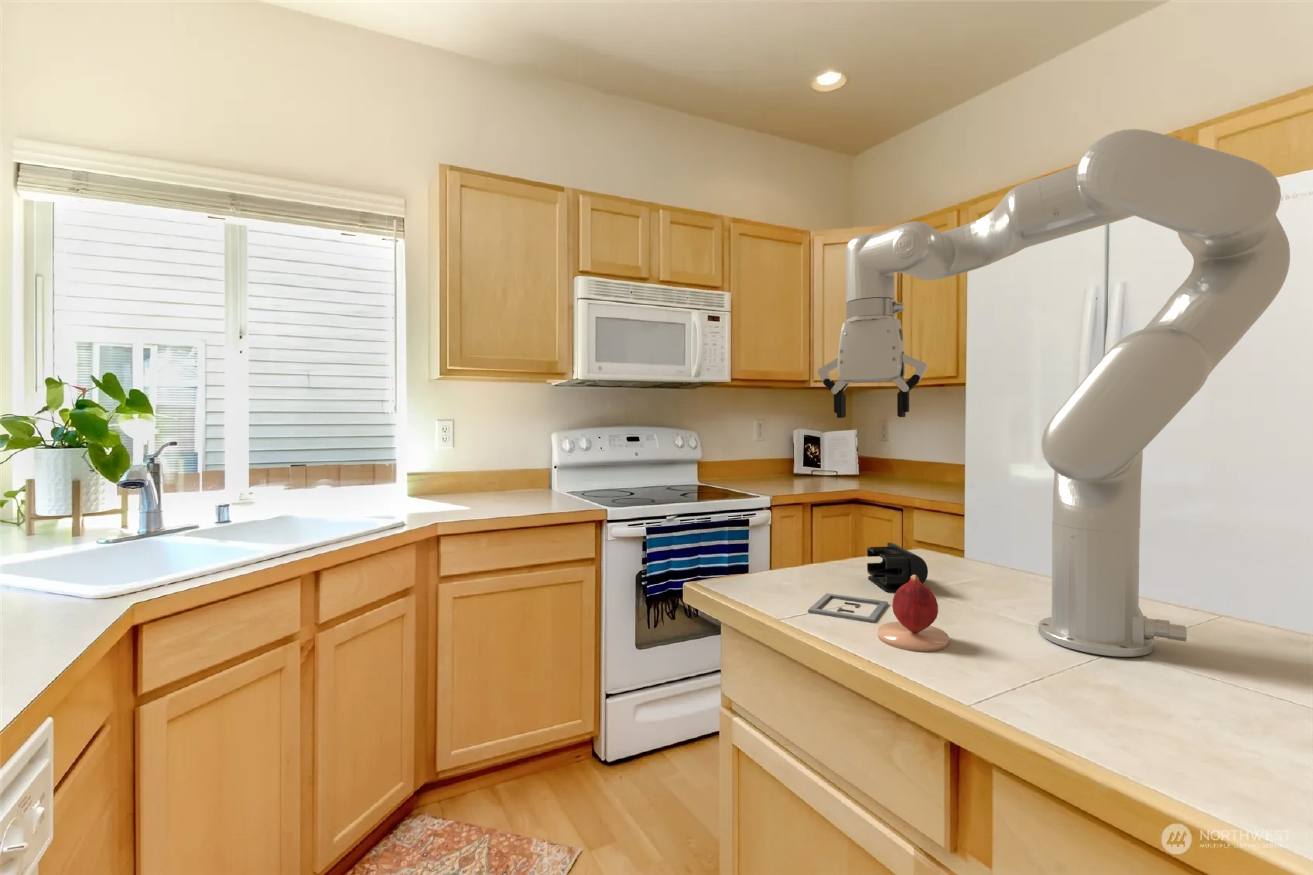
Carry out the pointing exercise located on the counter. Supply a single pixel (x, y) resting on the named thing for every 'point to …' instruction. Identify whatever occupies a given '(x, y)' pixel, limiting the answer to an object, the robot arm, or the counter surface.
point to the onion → (915, 605)
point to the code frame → (871, 618)
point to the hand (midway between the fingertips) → (870, 417)
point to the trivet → (913, 637)
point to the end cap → (895, 567)
